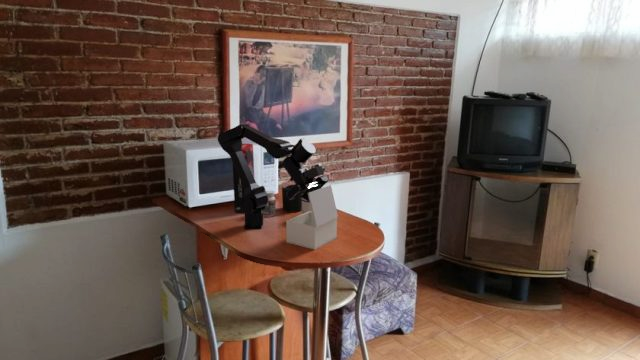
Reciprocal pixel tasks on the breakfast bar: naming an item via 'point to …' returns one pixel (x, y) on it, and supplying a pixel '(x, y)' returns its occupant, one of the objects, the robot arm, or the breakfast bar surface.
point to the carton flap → (322, 205)
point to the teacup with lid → (305, 206)
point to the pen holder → (291, 201)
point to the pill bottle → (270, 205)
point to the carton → (310, 231)
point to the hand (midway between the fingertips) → (322, 206)
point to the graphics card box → (238, 185)
